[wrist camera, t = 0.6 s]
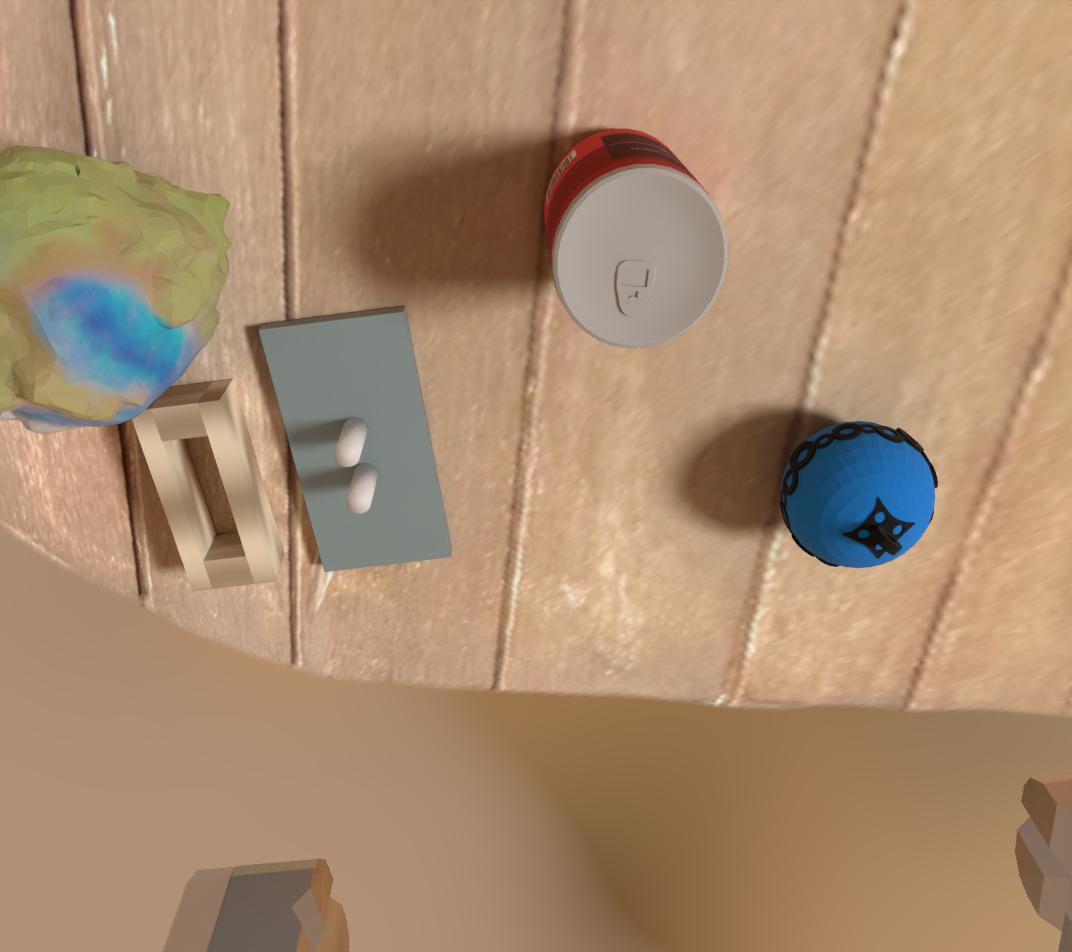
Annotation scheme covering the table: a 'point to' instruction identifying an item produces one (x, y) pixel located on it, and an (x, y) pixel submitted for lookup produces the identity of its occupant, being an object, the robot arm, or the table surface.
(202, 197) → the decorative rock
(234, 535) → the beige wooden rectangular frame
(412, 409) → the boss board
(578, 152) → the canned food
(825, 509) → the ornament
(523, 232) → the table surface
